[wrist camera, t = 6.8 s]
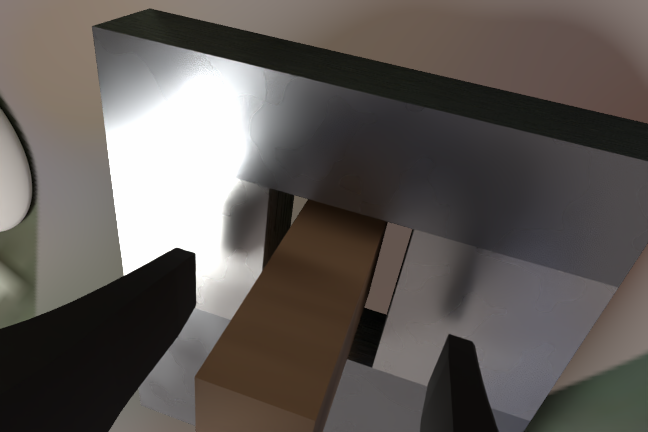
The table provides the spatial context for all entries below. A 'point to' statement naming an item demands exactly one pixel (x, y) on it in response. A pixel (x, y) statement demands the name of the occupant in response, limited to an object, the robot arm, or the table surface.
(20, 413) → the robot arm
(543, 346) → the square steel tile
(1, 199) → the wineglass
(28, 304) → the table surface
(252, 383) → the brown wooden block
